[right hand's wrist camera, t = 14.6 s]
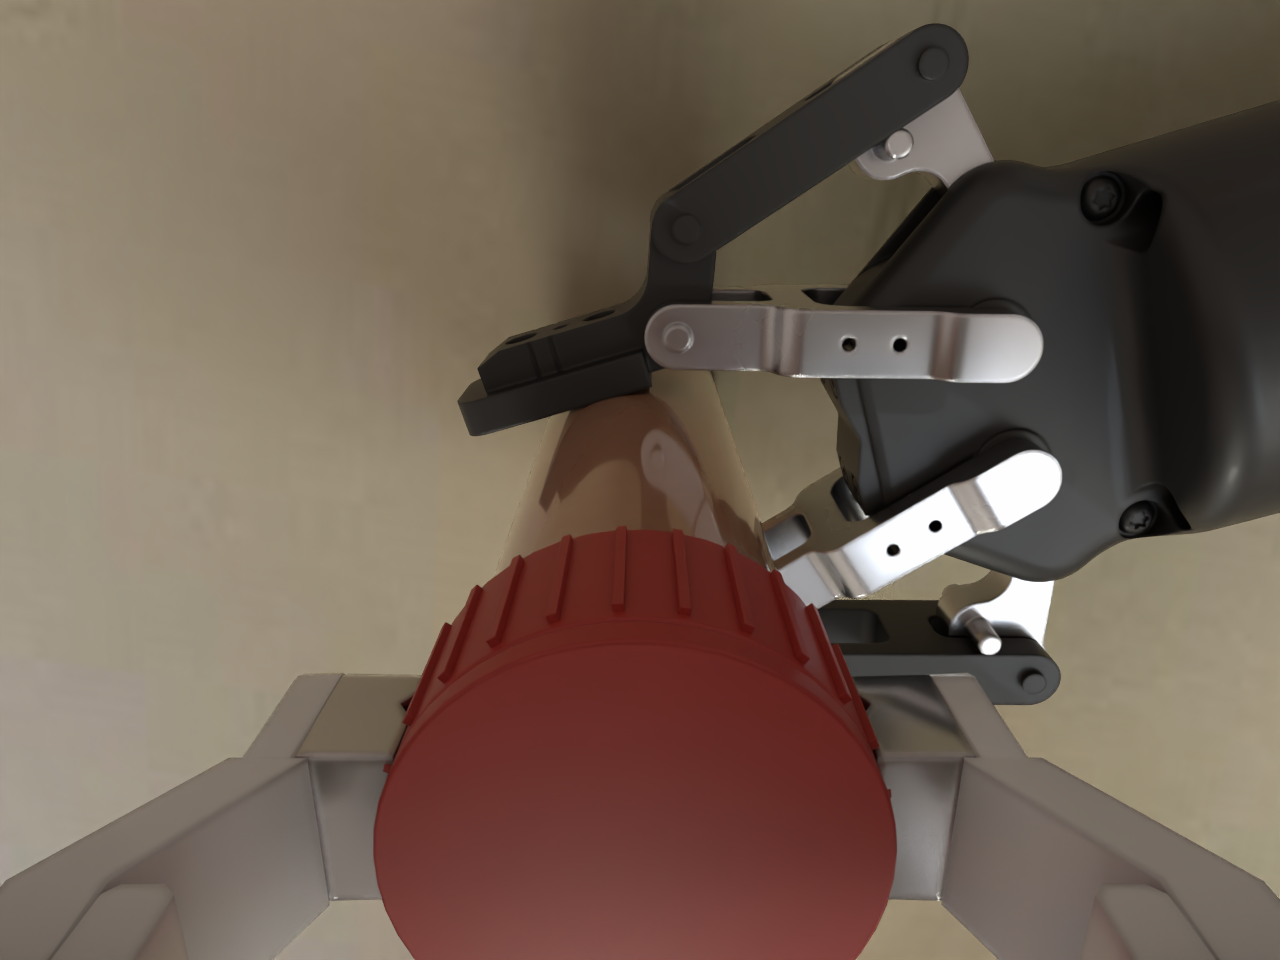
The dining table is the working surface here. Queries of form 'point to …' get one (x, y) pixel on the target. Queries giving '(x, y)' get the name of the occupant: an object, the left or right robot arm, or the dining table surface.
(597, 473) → the jar
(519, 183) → the dining table surface
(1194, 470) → the left robot arm
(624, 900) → the lid
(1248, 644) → the dining table surface
